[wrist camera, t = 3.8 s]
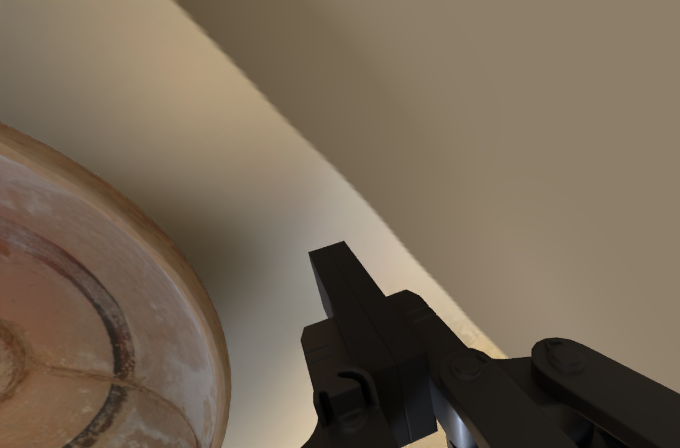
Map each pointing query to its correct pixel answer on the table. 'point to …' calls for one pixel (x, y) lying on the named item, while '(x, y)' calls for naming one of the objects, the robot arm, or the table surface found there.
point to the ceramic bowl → (99, 317)
